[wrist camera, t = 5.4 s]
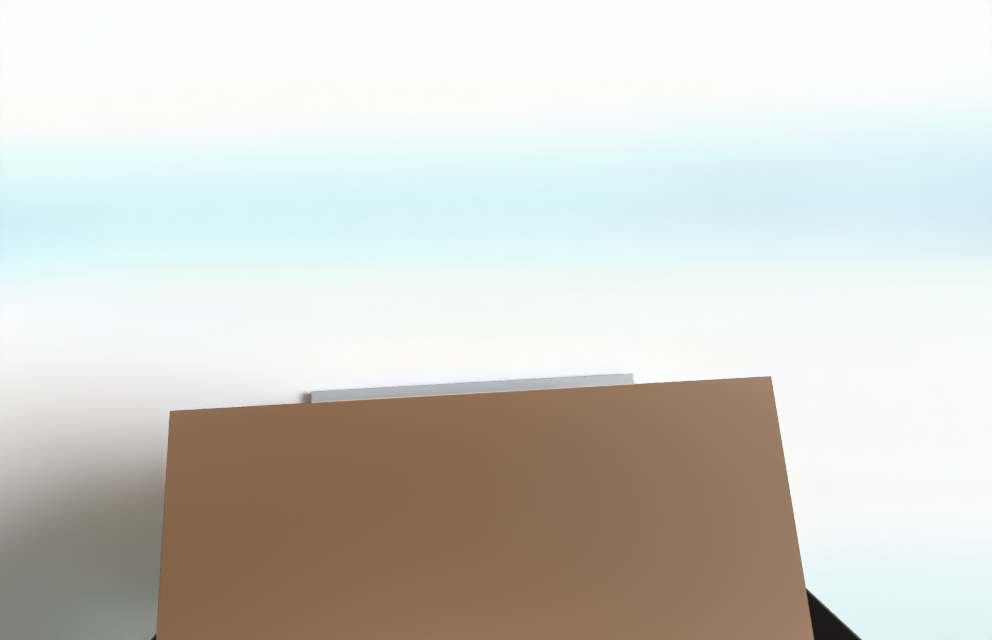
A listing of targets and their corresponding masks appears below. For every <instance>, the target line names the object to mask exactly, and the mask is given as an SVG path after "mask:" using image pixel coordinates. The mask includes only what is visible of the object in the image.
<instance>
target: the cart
mask: <svg viewBox="0 0 992 640" xmlns="http://www.w3.org/2000/svg"><path fill="white" fill-rule="evenodd" d="M156 640H814V636H813V630H812V624H811V618H810V612H809V605H808V599H807V593H806V587H805V581H804V575H803V569H802V563H801V557H800V551H799V544H798V538H797V532H796V526H795V520H794V514H793V508H792V502H791V496H790V489H789V483H788V477H787V471H786V465H785V459H784V453H783V447H782V441H781V435H780V428H779V422H778V416H777V410H776V404H775V398H774V392H773V386H772V380H771V376H768V377H751V378H734V379H716V380H699V381H682V382H664V383H647V384H630V385H612V386H595V387H578V388H561V389H543V390H526V391H509V392H491V393H474V394H457V395H439V396H422V397H405V398H387V399H370V400H353V401H335V402H318V403H301V404H283V405H266V406H249V407H231V408H214V409H197V410H179V411H170V419H169V436H168V453H167V469H166V486H165V503H164V519H163V536H162V552H161V569H160V586H159V602H158V619H157V636H156Z"/></svg>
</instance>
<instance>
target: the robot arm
mask: <svg viewBox="0 0 992 640" xmlns="http://www.w3.org/2000/svg"><path fill="white" fill-rule="evenodd" d="M806 593H807V599H808V605H809V612H810V618H811V624H812V630H813V636H814V640H861V639H860V638H859V637H858V636H857V635H856V634H855V633H854V632H853V631H852V630H851V629H850V628H849V627H847V626H846V625H845V624H844V623H843V622H842V621H841V620H840V619H839V618H838V617H837V616H836V615H834V614H833V613H832V612H831V611H830V610H829V609H828V608H827V607H826V606H825V605H824V604H823V603H822V602H820V601H819V600H818V599H817V598H816V597H815V596H814V595H813V594H812V593H811V592H810V591H809V590H807V589H806ZM156 636H157V633H156V634H155V635H154V636H153V638H152V639H151V640H156Z"/></svg>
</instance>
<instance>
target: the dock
mask: <svg viewBox="0 0 992 640" xmlns="http://www.w3.org/2000/svg"><path fill="white" fill-rule="evenodd" d="M630 384H634V382H633V374H616V375H598V376H580V377H562V378H544V379H527V380H509V381H491V382H473V383H455V384H437V385H419V386H402V387H384V388H366V389H348V390H330V391H312V392H311V403H318V402H335V401H353V400H370V399H387V398H405V397H422V396H439V395H457V394H474V393H491V392H509V391H526V390H543V389H561V388H578V387H595V386H612V385H630Z"/></svg>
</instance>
